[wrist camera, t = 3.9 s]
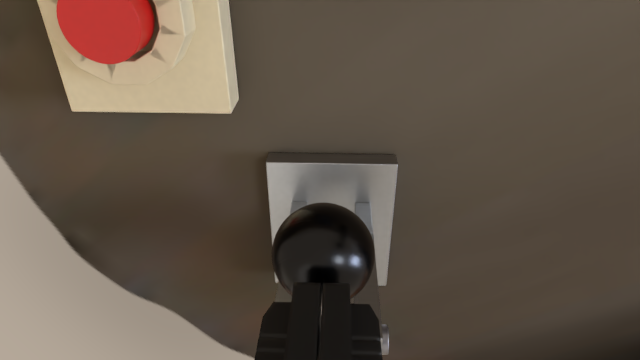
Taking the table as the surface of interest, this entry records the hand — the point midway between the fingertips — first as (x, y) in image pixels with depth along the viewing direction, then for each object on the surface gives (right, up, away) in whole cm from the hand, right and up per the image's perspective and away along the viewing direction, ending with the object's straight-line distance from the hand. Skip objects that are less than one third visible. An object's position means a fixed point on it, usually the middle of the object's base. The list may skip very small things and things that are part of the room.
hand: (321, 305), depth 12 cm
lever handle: (0, 0, +7) cm, 7 cm away
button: (-9, +11, +9) cm, 17 cm away
